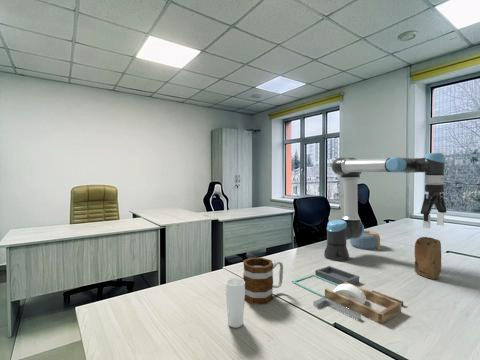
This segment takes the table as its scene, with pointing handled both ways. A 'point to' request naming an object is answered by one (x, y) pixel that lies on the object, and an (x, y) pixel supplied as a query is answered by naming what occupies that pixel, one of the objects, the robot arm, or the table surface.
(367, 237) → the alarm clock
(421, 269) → the block
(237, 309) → the drinking glass
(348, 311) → the grey l-shaped bar
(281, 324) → the table surface
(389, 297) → the walnut dowel
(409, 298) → the table surface
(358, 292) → the computer mouse
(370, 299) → the wooden u-shaped frame
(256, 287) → the mug
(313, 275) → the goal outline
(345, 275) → the grey tray
